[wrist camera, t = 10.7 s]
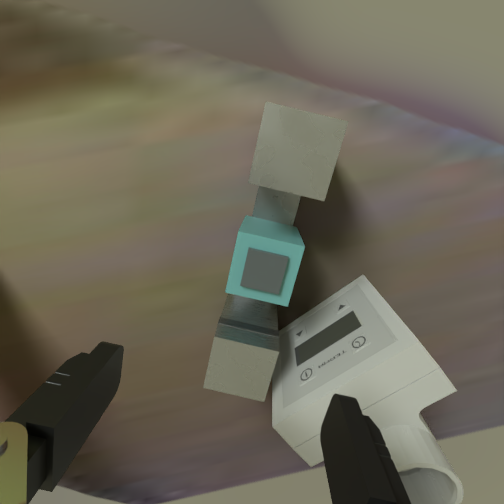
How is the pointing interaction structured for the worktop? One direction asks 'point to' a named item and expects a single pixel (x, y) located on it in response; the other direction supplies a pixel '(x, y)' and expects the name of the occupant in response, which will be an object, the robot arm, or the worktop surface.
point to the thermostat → (364, 386)
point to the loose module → (265, 261)
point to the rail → (281, 211)
